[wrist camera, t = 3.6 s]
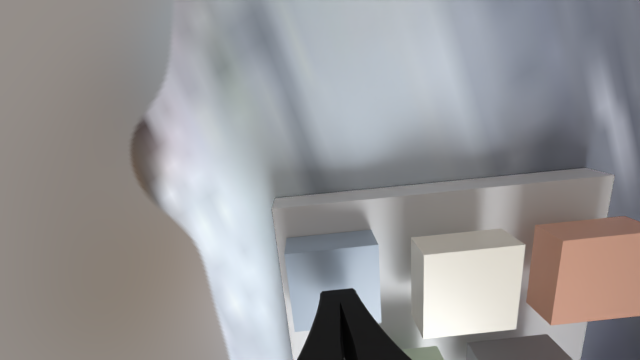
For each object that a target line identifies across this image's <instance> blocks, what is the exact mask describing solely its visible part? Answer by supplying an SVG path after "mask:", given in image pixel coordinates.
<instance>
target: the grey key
mask: <svg viewBox="0 0 640 360" xmlns="http://www.w3.org/2000/svg"><path fill="white" fill-rule="evenodd" d="M466 360H573V359H572V358H571V357H570V356H569V355H568V354H567V353H566V352H565V351H564V350H563V349H562V348H561V347H560V346H559V345H558V344H557V343H556V342H555V341H554V340H553V339H552V338H551V337H550V336H549V335H548V334H542V335H533V336H524V337H514V338H505V339H496V340H486V341H477V342H468V343H467V352H466Z"/></svg>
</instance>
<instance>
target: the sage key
mask: <svg viewBox="0 0 640 360" xmlns="http://www.w3.org/2000/svg"><path fill="white" fill-rule="evenodd" d="M402 351H403V352H404V353H406V354H407V355H408V356H409V357H410V358H411V359H412V360H444V359H443V357H442V355H441V353H440V351H439V349H438V347H437V346H431V347H421V348H412V349H403V350H402Z"/></svg>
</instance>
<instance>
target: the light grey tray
mask: <svg viewBox="0 0 640 360" xmlns="http://www.w3.org/2000/svg"><path fill="white" fill-rule="evenodd" d="M614 177H615V175H612V174H609V173H605V172H601V171H597V170H593V169H589V168H578V169H567V170H557V171H547V172H537V173H527V174H516V175H506V176H496V177H486V178H475V179H465V180H455V181H445V182H435V183H424V184H414V185H404V186H394V187H384V188H373V189H363V190H353V191H343V192H332V193H322V194H312V195H302V196H292V197H281V198H275V200H274V203H273V206H272V214H273V221H274V228H275V235H276V243H277V250H278V257H279V264H280V271H281V278H282V285H283V292H284V299H285V306H286V313H287V320H288V327H289V334H290V341H291V348H292V355H293V360H297V358H298V356H299V354H300V352H301V350H302V348H303V346H304V344H305V341H306V339H307V337H308V335H309V332H310V331H301V332H295V330H294V323H293V315H292V308H291V300H290V293H289V286H288V278H287V271H286V263H285V256H284V252H285V245H286V238H291V237H301V236H311V235H321V234H331V233H341V232H351V231H361V230H372V232H373V234H374V236H375V238H376V241H377V243H378V245H379V270H380V296H381V322H382V323H378V324H379V325H380V327H381V328H382V329H383V330H384V331H385V333H386V334H387V335H388V336H389V337H390V338H391V339H392V340H393V341H394V342H395V344H396V345H397V346H398V347H399V348H400V349H401V350H403V349H412V348H421V347H431V346H437V347H438V349H439V351H440V353H441V355H442V357H443V359H444V360H466V352H467V343H468V342H477V341H486V340H496V339H505V338H514V337H524V336H533V335H542V334H548V335H549V336H550V337H551V338H552V339H553V340H554V341H555V342H556V343H557V344H558V345H559V346H560V347H561V348H562V349H563V350H564V351H565V352H566V353H567V354H568V355H569V356H570V357H571V358H572V359H573V360H580V359H581V354H582V349H583V343H584V338H585V332H586V327H587V322H579V323H570V324H560V325H550V324H549V323H548V322H547V321H545V320H544V319H543V318H542V317H541V316H540V315H539V314H538V313H537V312H536V311H535V310H534V309H533V308H532V307H531V306H530V305H529V304H527V303H526V299H527V291H528V282H529V274H530V265H531V257H532V248H533V239H534V231H535V225H540V224H550V223H560V222H570V221H579V220H589V219H599V218H607V215H608V209H609V204H610V199H611V193H612V188H613V182H614ZM500 228H502V229H503V230H505V231H506V232H508V233H509V234H510V235H512V236H513V237H515V238H516V239H518V240H519V241H521V242H522V243H524V244H525V253H524V262H523V272H522V281H521V290H520V299H519V308H518V317H517V326H516V329H514V330H504V331H495V332H486V333H476V334H467V335H457V336H448V337H439V338H429V339H423V338H422V336H421V333H420V331H419V329H418V327H417V325H416V323H415V321H414V319H413V317H412V315H411V237H421V236H431V235H441V234H451V233H461V232H471V231H480V230H490V229H500Z"/></svg>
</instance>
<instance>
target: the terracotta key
mask: <svg viewBox="0 0 640 360" xmlns="http://www.w3.org/2000/svg"><path fill="white" fill-rule="evenodd" d="M526 303H527V304H529V305H530V306H531V307H532V308H533V309H534V310H535V311H536V312H537V313H538V314H539V315H540V316H541V317H542V318H543V319H544V320H545V321H547V322H548V323H549V324H550V325H560V324H570V323H579V322H588V321H598V320H607V319H616V318H626V317H635V316H640V222H639V221H636V220H634V219H631V218H628V217H626V216H619V217H609V218H599V219H589V220H579V221H570V222H560V223H550V224H540V225H535V231H534V239H533V248H532V257H531V265H530V274H529V282H528V291H527V299H526Z"/></svg>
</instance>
